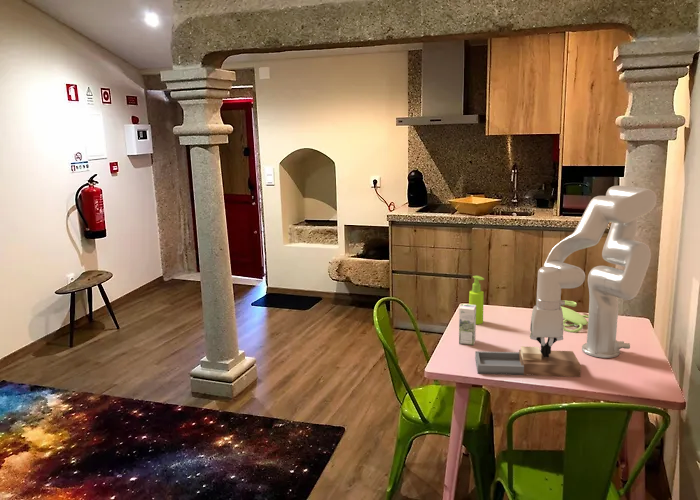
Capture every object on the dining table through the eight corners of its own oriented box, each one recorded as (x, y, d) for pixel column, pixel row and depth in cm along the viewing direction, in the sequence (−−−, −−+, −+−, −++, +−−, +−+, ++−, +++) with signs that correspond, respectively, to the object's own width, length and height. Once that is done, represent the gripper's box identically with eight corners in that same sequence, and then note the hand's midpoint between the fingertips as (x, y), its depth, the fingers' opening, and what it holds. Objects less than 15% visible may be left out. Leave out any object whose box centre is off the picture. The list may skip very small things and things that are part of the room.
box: (518, 360, 205) (519, 352, 205) (523, 375, 194) (524, 366, 193) (475, 359, 207) (475, 351, 207) (477, 373, 196) (477, 365, 195)
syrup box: (475, 339, 225) (476, 304, 222) (473, 345, 219) (474, 309, 216) (460, 338, 227) (461, 303, 224) (458, 344, 221) (459, 307, 218)
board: (572, 361, 203) (572, 351, 202) (580, 376, 191) (581, 365, 190) (518, 360, 205) (519, 349, 204) (523, 375, 194) (524, 363, 193)
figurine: (566, 308, 258) (567, 296, 257) (609, 328, 233) (609, 315, 232) (530, 313, 253) (530, 301, 252) (569, 334, 228) (570, 321, 227)
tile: (538, 353, 201) (538, 346, 200) (541, 360, 195) (541, 353, 194) (520, 352, 202) (520, 346, 201) (522, 359, 196) (523, 353, 195)
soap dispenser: (476, 326, 239) (477, 279, 235) (465, 321, 245) (466, 275, 241) (487, 323, 242) (488, 277, 237) (476, 318, 248) (477, 273, 243)
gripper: (569, 300, 196) (566, 352, 200) (523, 300, 198) (521, 350, 202) (574, 308, 188) (571, 360, 193) (526, 307, 190) (524, 359, 195)
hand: (545, 355), depth 197 cm, fingers closed
